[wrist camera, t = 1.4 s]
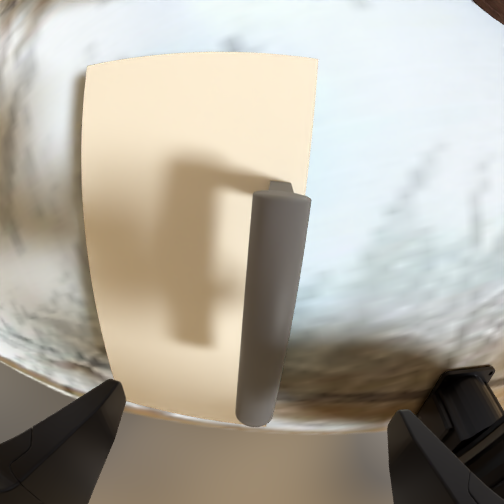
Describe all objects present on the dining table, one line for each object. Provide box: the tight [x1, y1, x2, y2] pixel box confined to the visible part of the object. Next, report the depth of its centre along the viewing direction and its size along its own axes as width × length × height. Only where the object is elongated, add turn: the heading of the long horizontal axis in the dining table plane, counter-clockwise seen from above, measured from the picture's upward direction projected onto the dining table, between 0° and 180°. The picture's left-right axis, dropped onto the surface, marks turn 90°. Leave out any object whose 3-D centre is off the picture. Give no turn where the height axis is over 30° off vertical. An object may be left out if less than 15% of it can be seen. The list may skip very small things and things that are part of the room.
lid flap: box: [81, 52, 318, 427], centre depth 12 cm, size 10×20×5 cm, turn 175°
